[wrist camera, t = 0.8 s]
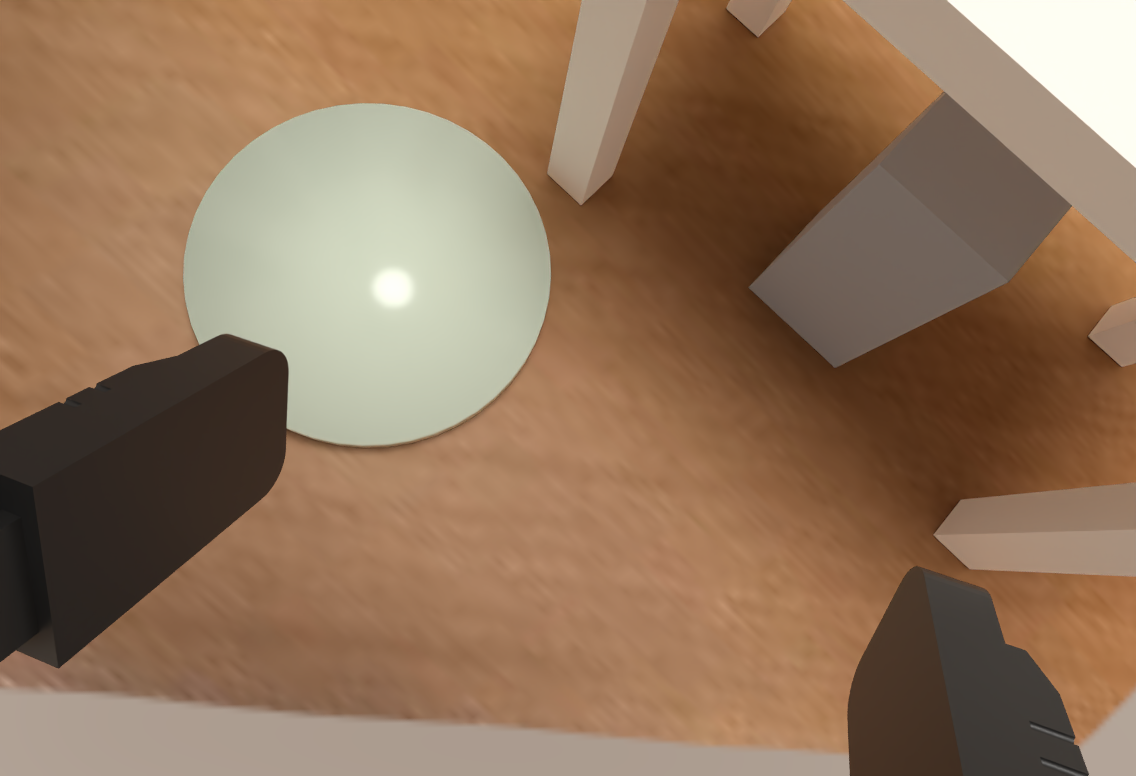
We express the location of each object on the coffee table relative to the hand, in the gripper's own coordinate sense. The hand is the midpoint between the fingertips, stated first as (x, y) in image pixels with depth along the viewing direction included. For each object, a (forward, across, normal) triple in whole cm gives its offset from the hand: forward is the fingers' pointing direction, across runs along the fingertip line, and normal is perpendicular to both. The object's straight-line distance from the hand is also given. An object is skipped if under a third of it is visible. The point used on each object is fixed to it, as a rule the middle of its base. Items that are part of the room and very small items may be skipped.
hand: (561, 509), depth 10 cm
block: (+26, -5, +4) cm, 27 cm away
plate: (+19, +13, +6) cm, 24 cm away
